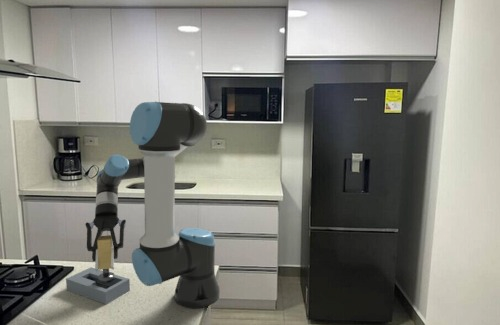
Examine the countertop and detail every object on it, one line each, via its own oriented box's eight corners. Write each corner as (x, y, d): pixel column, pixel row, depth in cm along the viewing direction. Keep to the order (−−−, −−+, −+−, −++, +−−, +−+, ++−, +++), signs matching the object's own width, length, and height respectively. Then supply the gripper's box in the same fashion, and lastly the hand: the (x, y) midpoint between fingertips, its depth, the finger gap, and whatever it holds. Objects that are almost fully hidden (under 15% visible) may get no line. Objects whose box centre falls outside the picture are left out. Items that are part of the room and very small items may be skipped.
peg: (114, 275, 117) (113, 234, 115) (113, 282, 112) (112, 239, 110) (99, 277, 115) (97, 236, 113) (97, 284, 110) (95, 241, 108)
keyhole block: (129, 290, 116) (129, 278, 115) (106, 304, 107) (105, 292, 106) (91, 277, 124) (90, 267, 124) (66, 290, 115) (65, 278, 115)
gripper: (131, 210, 128) (132, 269, 115) (82, 213, 122) (77, 276, 109) (130, 200, 122) (131, 261, 109) (79, 203, 117) (73, 268, 103)
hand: (104, 268), depth 109 cm, fingers closed on peg, 4 cm apart
